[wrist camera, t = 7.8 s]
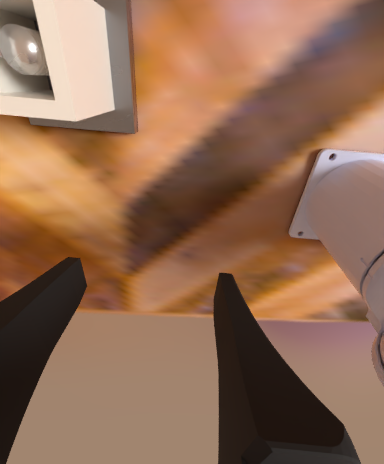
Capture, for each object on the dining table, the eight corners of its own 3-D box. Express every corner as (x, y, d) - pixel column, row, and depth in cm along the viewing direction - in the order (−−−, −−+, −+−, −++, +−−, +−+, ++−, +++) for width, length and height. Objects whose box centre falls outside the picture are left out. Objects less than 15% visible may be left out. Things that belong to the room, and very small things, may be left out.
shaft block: (129, -24, 12) (85, -86, 8) (138, 131, 17) (113, 149, 12) (-6, -36, 12) (-128, -105, 8) (39, 122, 17) (-23, 137, 12)
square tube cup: (104, 8, 12) (41, -38, 8) (114, 109, 15) (73, 122, 10) (14, -1, 12) (-105, -53, 8) (41, 102, 15) (-34, 112, 10)
